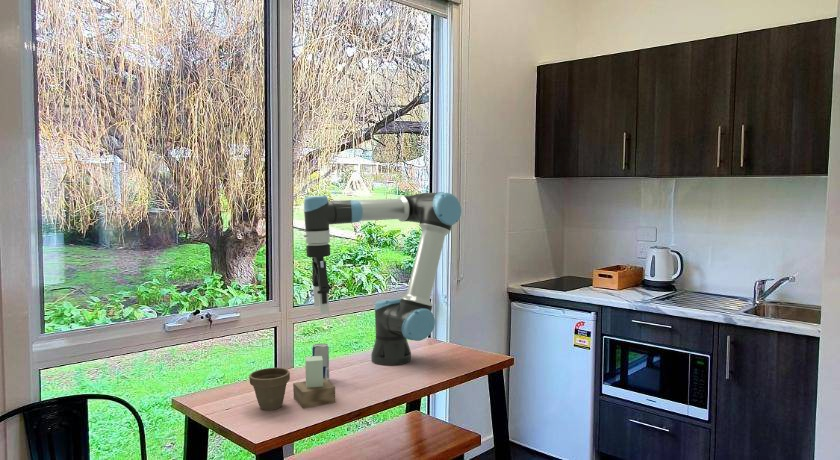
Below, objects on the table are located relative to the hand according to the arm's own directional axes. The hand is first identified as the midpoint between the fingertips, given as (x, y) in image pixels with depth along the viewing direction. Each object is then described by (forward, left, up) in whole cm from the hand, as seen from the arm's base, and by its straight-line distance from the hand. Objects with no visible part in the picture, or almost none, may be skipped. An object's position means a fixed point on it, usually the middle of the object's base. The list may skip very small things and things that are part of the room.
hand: (321, 309), depth 191 cm
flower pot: (+17, +14, -25) cm, 34 cm away
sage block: (+4, +12, -21) cm, 24 cm away
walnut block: (+4, +12, -26) cm, 29 cm away
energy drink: (0, -7, -25) cm, 26 cm away
